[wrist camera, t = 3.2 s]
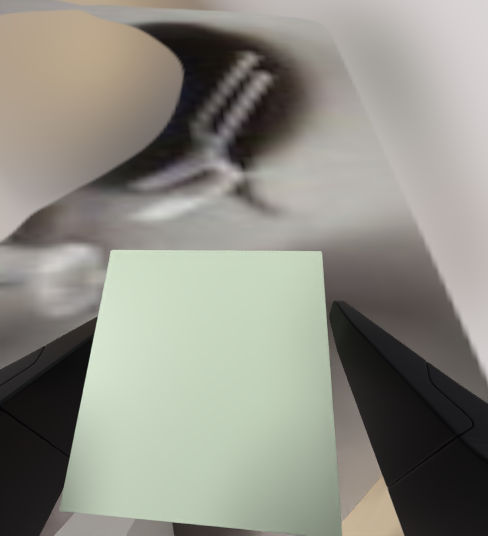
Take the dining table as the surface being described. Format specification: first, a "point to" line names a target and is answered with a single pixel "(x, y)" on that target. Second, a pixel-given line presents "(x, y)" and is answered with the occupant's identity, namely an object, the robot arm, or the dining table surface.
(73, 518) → the white cube
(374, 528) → the oak cube
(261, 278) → the sage block
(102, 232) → the dining table surface
